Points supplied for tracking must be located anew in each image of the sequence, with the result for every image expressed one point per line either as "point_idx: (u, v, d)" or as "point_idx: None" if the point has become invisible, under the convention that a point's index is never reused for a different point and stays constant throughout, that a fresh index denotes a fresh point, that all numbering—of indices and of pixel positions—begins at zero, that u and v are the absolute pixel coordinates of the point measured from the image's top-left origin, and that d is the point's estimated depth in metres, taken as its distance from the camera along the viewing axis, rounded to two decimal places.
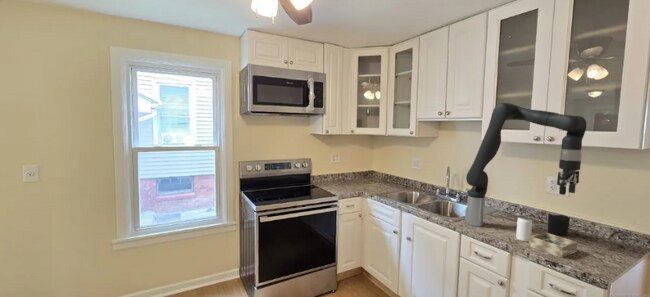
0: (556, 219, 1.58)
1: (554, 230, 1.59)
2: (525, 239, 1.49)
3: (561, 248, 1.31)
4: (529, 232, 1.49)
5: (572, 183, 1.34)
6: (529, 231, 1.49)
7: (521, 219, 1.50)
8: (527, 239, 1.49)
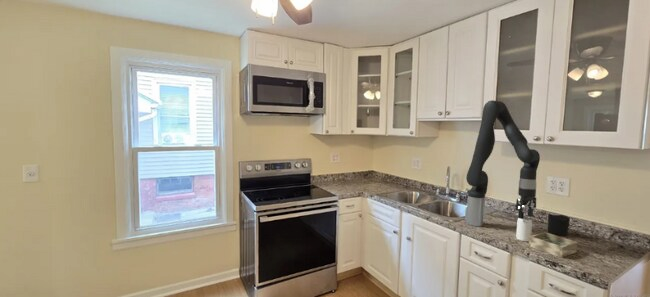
0: (556, 219, 1.58)
1: (554, 230, 1.59)
2: (525, 239, 1.49)
3: (561, 248, 1.31)
4: (529, 232, 1.49)
5: (530, 208, 1.53)
6: (529, 231, 1.49)
7: (521, 219, 1.50)
8: (527, 239, 1.49)
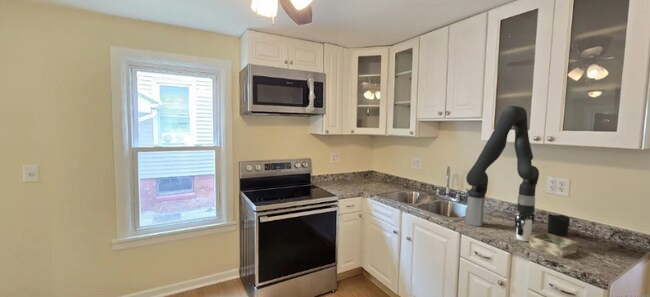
0: (556, 219, 1.58)
1: (554, 230, 1.59)
2: (525, 239, 1.49)
3: (561, 248, 1.31)
4: (529, 232, 1.49)
5: None
6: (529, 231, 1.49)
7: None
8: (527, 239, 1.49)
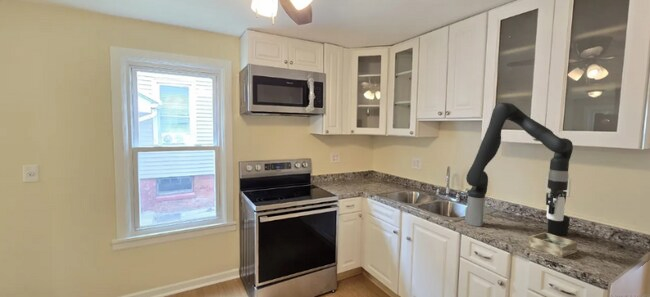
0: None
1: (554, 230, 1.59)
2: (557, 218, 1.37)
3: (561, 248, 1.31)
4: (562, 211, 1.36)
5: None
6: (562, 209, 1.36)
7: None
8: (559, 218, 1.36)
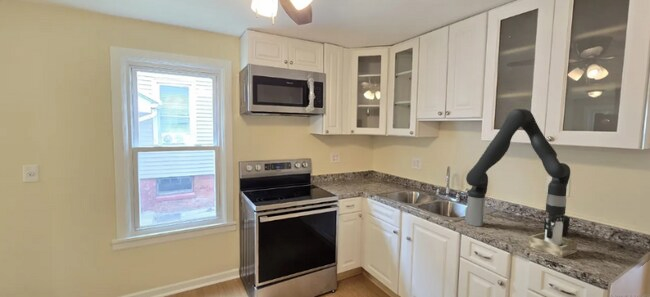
0: None
1: None
2: (555, 243, 1.38)
3: (561, 248, 1.31)
4: (560, 235, 1.37)
5: None
6: (560, 234, 1.37)
7: None
8: (557, 243, 1.37)
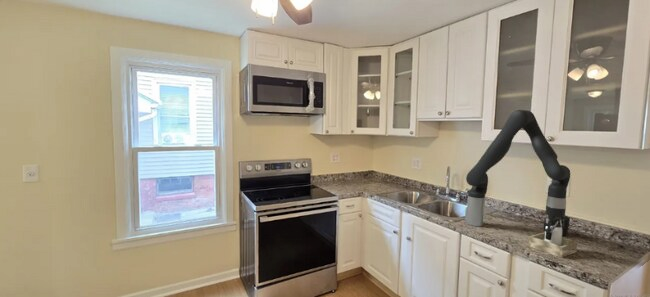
0: None
1: None
2: None
3: (561, 248, 1.31)
4: (559, 241, 1.38)
5: None
6: (559, 240, 1.38)
7: None
8: None
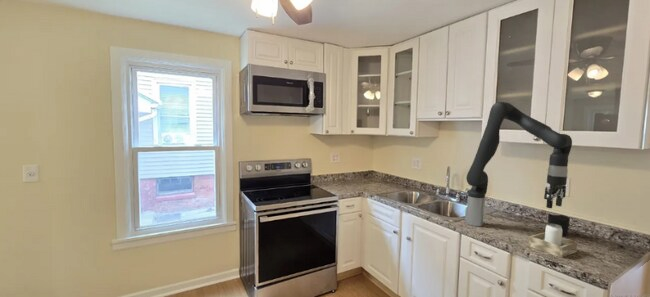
0: (556, 219, 1.58)
1: None
2: None
3: (561, 248, 1.31)
4: (559, 241, 1.38)
5: (559, 197, 1.42)
6: (559, 240, 1.38)
7: (550, 227, 1.39)
8: None
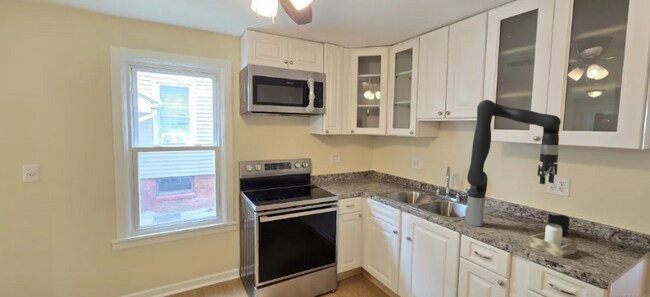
0: (556, 219, 1.58)
1: None
2: None
3: (561, 248, 1.31)
4: (559, 241, 1.38)
5: (551, 174, 1.54)
6: (559, 240, 1.38)
7: (550, 227, 1.39)
8: None
